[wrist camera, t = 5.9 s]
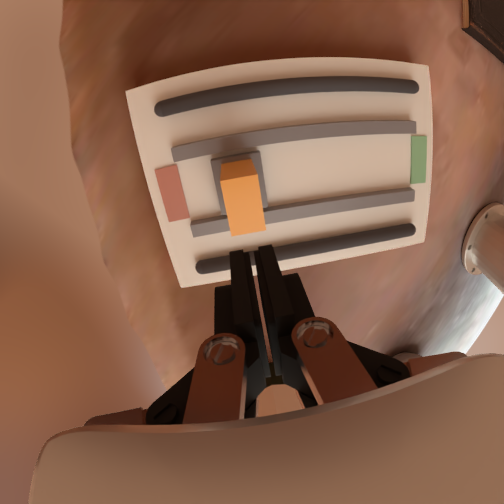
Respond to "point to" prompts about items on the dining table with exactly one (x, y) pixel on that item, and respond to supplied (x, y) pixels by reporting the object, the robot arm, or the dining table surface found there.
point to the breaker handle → (241, 191)
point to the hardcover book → (485, 24)
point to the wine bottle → (277, 396)
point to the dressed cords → (287, 88)
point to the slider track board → (289, 159)
